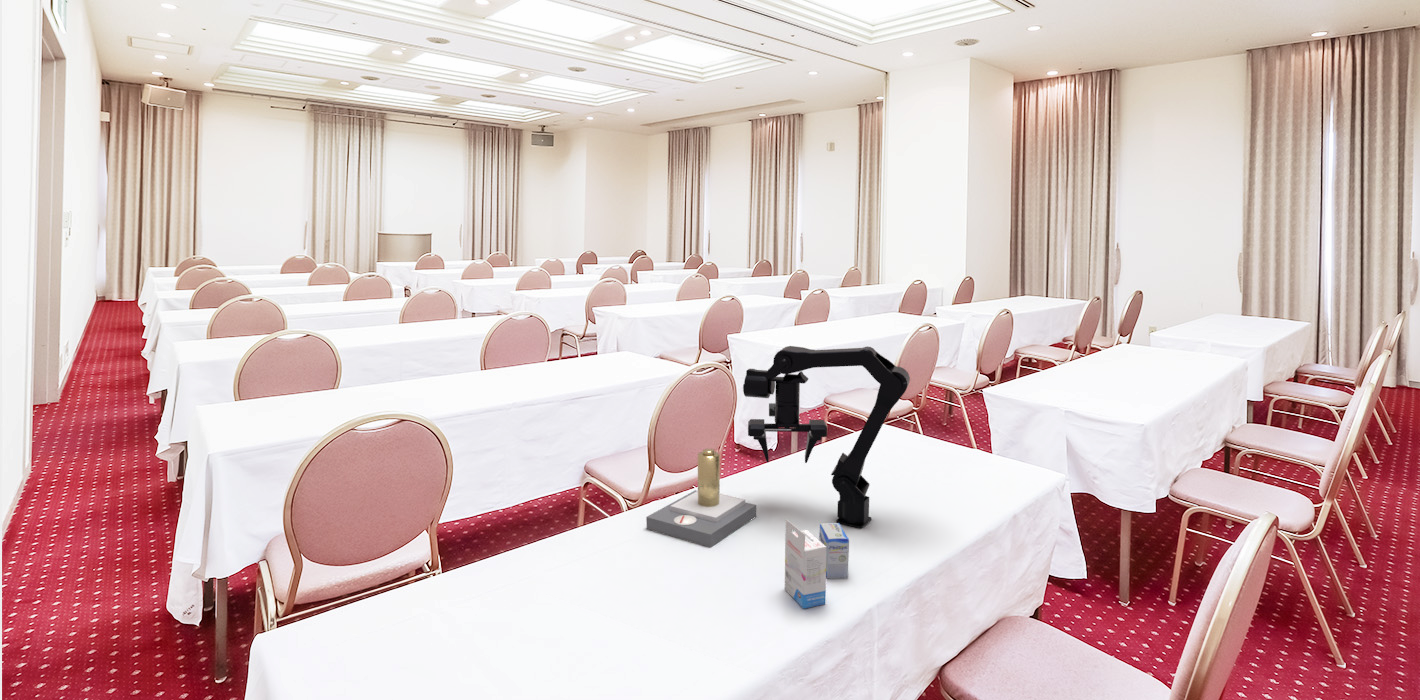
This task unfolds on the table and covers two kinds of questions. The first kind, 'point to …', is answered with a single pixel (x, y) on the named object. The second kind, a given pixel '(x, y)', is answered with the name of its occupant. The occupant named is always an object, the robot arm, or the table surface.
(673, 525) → the scale
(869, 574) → the table surface
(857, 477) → the robot arm
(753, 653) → the table surface
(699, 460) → the brass weight
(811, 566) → the ink box
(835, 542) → the medicine box
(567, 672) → the table surface
